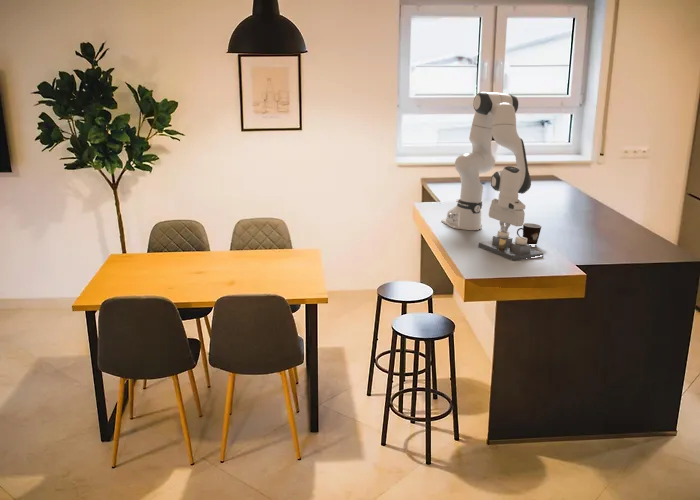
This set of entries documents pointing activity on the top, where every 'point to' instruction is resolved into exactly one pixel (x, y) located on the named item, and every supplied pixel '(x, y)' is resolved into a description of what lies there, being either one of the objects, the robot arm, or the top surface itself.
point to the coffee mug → (530, 232)
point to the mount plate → (510, 249)
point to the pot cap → (502, 243)
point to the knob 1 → (503, 234)
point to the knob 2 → (521, 240)
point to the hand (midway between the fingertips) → (503, 231)
